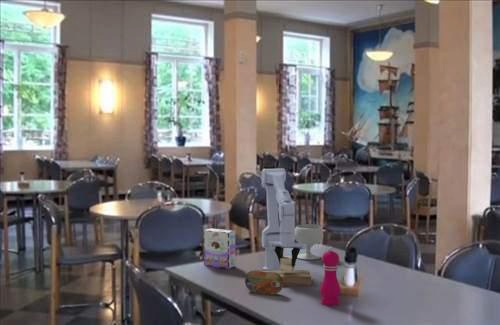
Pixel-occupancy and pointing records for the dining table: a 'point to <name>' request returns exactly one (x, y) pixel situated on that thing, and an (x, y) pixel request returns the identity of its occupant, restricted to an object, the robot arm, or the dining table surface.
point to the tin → (264, 282)
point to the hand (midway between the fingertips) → (287, 265)
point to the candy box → (219, 248)
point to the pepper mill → (330, 279)
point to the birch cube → (286, 264)
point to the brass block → (294, 277)
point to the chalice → (308, 239)
